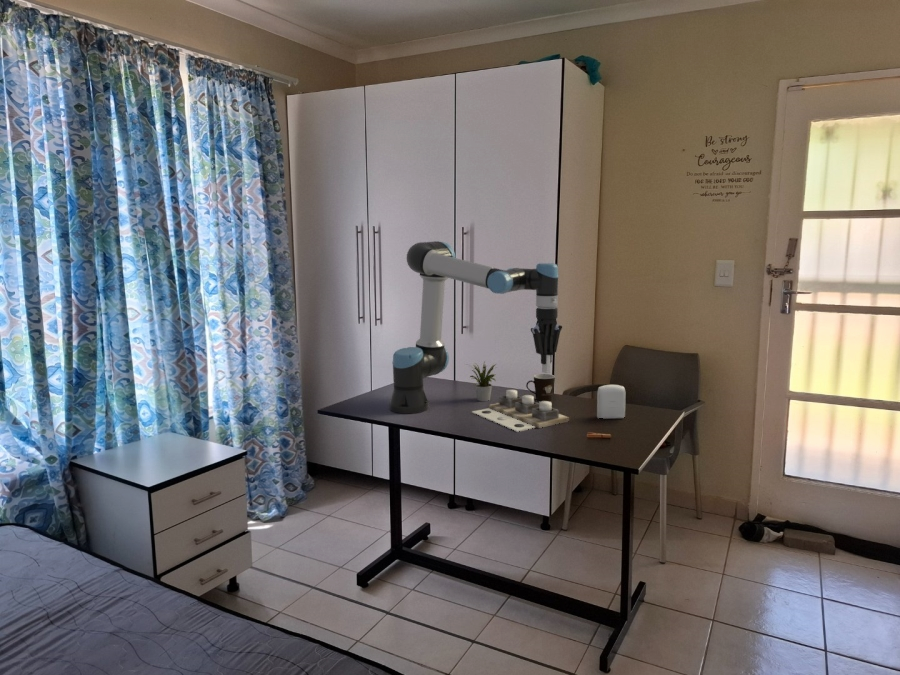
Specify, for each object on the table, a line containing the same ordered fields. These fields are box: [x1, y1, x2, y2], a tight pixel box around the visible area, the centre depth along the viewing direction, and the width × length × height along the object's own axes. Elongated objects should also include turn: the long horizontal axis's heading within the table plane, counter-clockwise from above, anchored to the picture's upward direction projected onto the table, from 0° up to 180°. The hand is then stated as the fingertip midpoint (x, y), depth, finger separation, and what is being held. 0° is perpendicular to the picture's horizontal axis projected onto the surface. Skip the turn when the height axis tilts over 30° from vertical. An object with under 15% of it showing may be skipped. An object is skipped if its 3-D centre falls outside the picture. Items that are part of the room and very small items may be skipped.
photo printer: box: [596, 384, 627, 419], centre depth 233 cm, size 10×4×12 cm, turn 89°
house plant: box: [464, 361, 498, 402], centre depth 258 cm, size 14×14×16 cm
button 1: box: [505, 389, 518, 400], centre depth 246 cm, size 4×4×4 cm
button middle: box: [521, 394, 535, 406], centre depth 238 cm, size 4×4×4 cm
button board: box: [489, 395, 570, 429], centre depth 239 cm, size 30×14×4 cm, turn 32°
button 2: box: [538, 401, 553, 412], centre depth 230 cm, size 4×4×4 cm
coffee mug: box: [525, 373, 556, 403], centre depth 258 cm, size 12×9×10 cm
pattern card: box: [471, 407, 536, 433], centre depth 233 cm, size 28×8×1 cm, turn 32°
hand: (546, 372), depth 227 cm, fingers closed
